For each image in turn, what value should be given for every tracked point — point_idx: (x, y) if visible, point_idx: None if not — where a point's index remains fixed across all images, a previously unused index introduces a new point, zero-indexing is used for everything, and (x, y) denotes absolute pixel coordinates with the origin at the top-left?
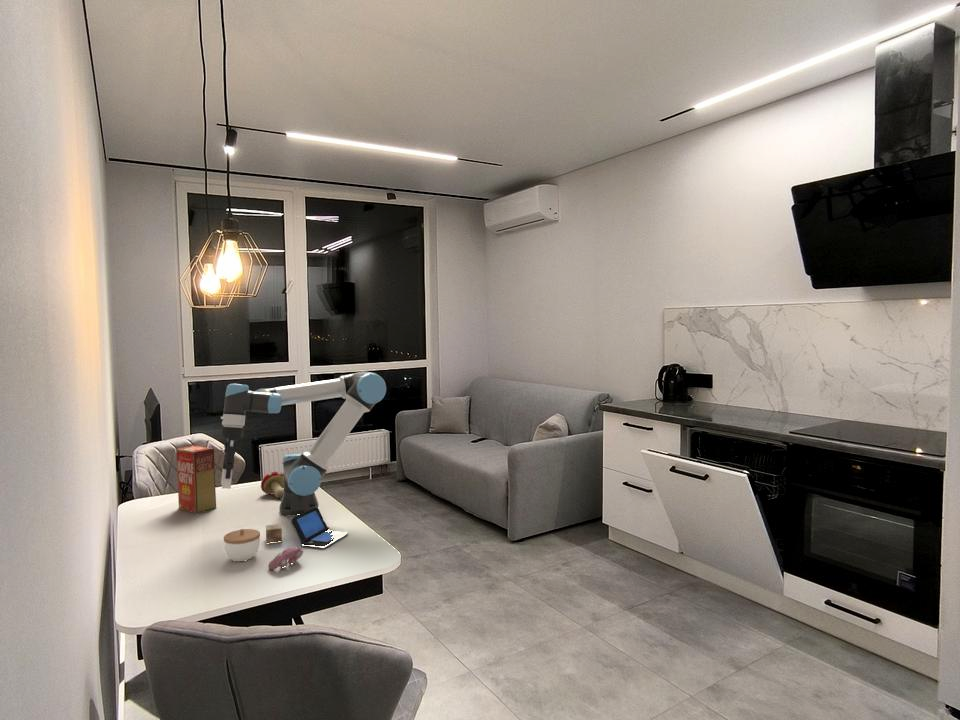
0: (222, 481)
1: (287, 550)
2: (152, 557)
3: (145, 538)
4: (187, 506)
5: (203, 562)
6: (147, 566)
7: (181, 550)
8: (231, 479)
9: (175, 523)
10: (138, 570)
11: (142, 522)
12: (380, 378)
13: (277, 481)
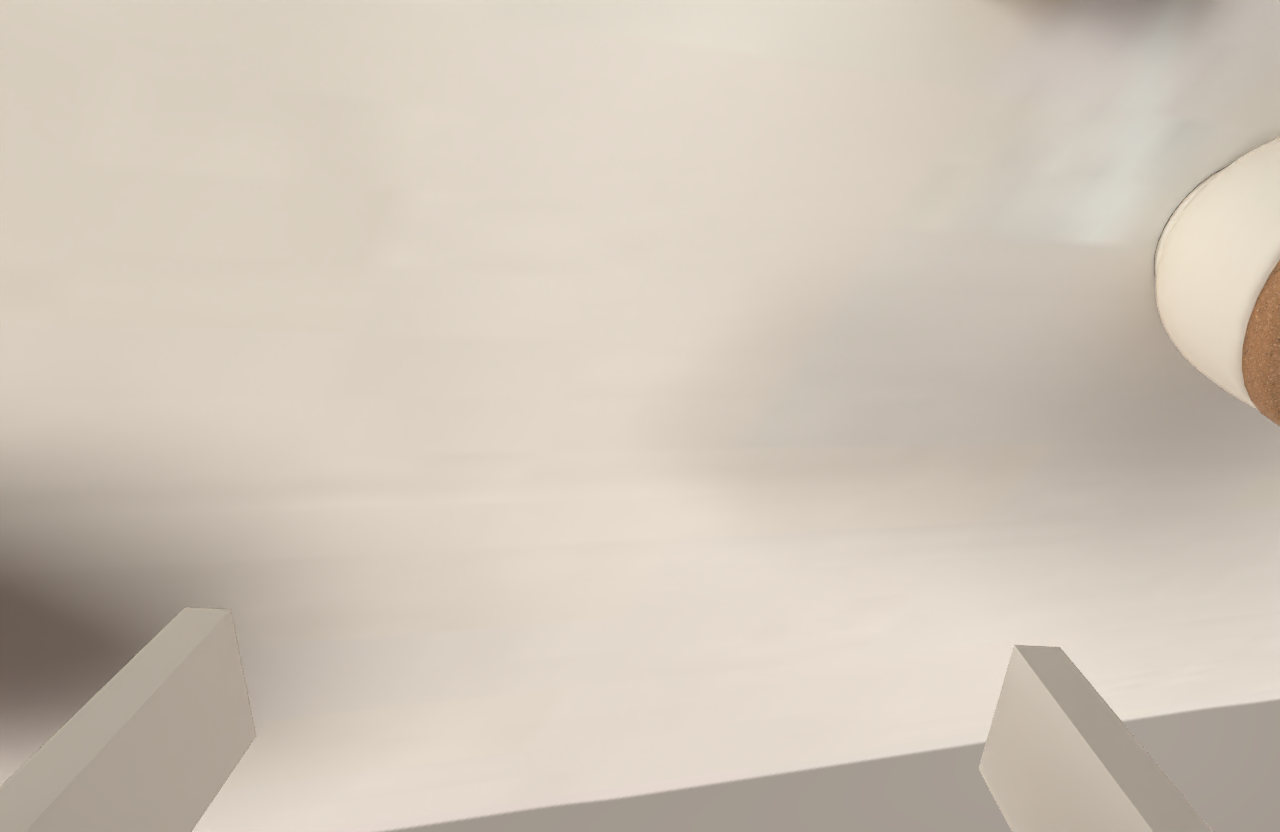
0: (208, 778)
1: None
2: (797, 689)
3: (418, 760)
4: None
5: (1082, 466)
6: (920, 690)
7: (773, 582)
8: (1197, 817)
9: (95, 665)
10: (946, 712)
11: None
12: None
13: None
